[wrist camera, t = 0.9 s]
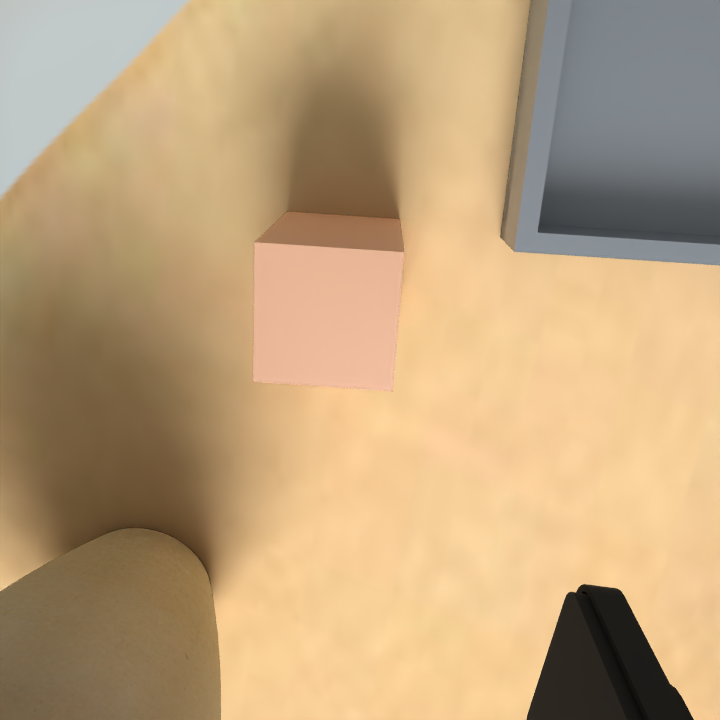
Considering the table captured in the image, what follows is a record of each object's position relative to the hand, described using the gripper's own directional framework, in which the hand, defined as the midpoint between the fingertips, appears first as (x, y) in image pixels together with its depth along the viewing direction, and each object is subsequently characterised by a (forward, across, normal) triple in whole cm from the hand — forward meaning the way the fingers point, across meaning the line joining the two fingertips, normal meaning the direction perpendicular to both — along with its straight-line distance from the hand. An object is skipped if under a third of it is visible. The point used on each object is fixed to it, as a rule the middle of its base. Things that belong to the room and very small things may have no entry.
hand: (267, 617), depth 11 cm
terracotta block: (+22, 0, 0) cm, 22 cm away
